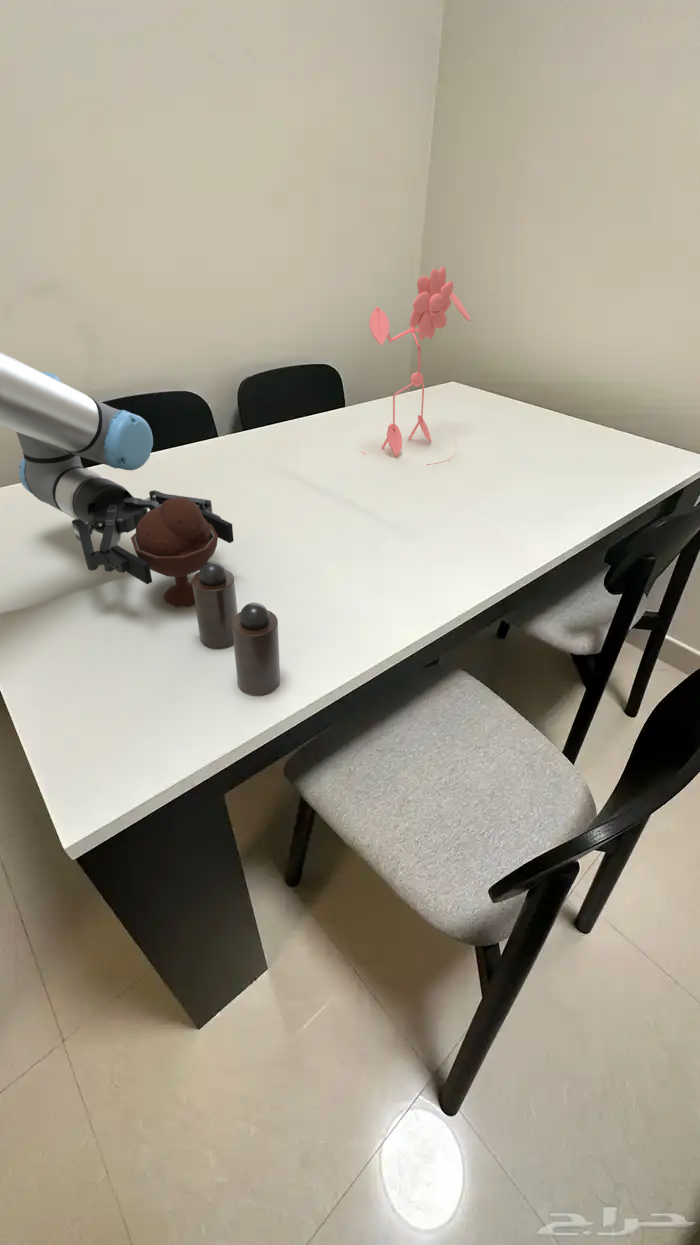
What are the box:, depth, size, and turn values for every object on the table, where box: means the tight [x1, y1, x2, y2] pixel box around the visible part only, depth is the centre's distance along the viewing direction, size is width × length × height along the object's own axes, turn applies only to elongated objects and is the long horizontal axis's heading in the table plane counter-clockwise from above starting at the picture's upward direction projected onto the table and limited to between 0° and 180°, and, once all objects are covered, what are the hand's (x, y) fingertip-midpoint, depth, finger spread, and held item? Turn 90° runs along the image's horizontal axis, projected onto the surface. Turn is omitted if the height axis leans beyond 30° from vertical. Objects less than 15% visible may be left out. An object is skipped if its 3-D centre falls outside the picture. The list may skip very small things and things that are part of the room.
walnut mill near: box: [232, 602, 281, 697], centre depth 66 cm, size 5×5×11 cm
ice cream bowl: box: [130, 496, 219, 608], centre depth 77 cm, size 11×11×15 cm
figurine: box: [360, 266, 472, 466], centre depth 117 cm, size 15×26×35 cm, turn 134°
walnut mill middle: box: [191, 560, 239, 650], centre depth 72 cm, size 5×5×11 cm
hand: (192, 552), depth 75 cm, fingers open, 13 cm apart
